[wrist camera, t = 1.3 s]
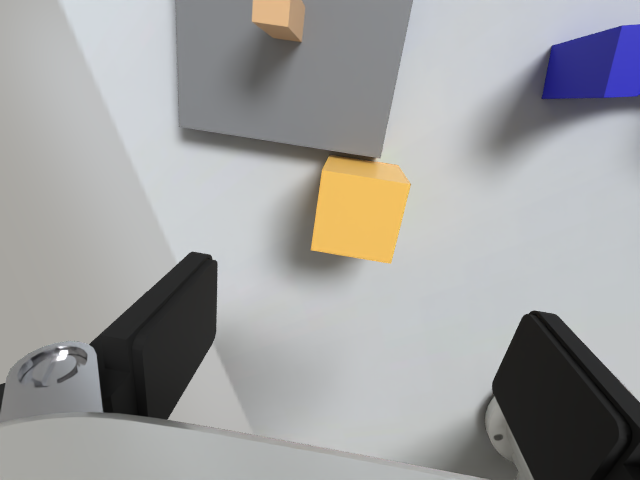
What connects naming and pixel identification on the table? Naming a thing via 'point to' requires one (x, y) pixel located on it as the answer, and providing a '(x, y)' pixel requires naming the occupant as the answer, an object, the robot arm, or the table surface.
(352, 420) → the table surface
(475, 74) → the table surface
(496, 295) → the table surface
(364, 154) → the plate
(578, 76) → the blue arch bracket
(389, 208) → the mustard yellow cube
